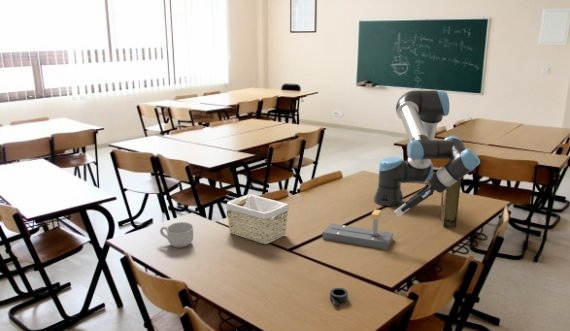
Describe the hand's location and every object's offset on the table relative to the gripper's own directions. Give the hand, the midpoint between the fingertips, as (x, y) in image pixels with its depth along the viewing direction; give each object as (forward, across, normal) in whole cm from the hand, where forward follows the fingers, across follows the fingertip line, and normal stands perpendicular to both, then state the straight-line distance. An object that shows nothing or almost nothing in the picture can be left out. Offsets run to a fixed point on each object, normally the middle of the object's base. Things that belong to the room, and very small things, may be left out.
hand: (396, 214), depth 195 cm
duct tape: (+17, +50, +4) cm, 53 cm away
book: (-3, -37, +22) cm, 43 cm away
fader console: (+21, 0, -1) cm, 21 cm away
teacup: (+69, +35, -49) cm, 92 cm away
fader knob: (+13, 0, +2) cm, 13 cm away
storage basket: (+51, +12, -31) cm, 61 cm away
